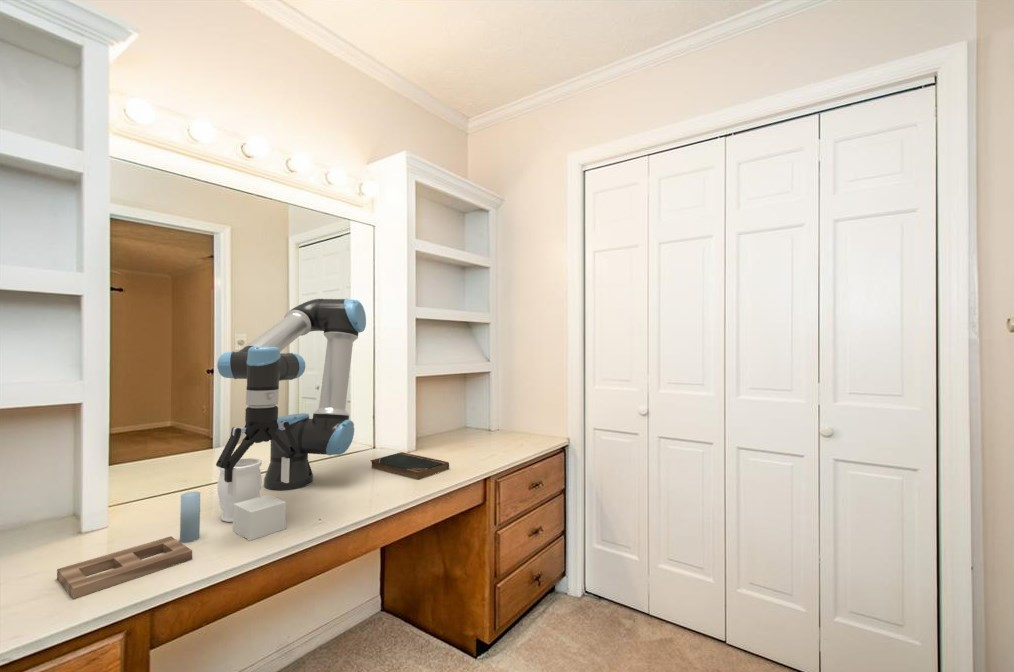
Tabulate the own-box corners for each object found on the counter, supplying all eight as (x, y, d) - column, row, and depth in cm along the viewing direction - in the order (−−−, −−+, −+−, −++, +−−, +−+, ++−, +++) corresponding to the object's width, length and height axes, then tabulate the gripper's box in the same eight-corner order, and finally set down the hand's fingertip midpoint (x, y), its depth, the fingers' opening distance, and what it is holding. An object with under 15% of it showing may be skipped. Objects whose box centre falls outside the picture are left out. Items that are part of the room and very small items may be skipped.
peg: (177, 539, 115) (178, 494, 115) (195, 534, 118) (196, 490, 118) (183, 543, 112) (184, 498, 112) (202, 538, 116) (203, 493, 115)
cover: (232, 531, 120) (233, 504, 120) (267, 520, 127) (268, 494, 127) (250, 540, 115) (250, 512, 115) (285, 528, 122) (286, 502, 122)
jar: (251, 506, 137) (252, 455, 137) (267, 516, 130) (268, 462, 130) (210, 517, 129) (212, 463, 129) (225, 527, 122) (226, 470, 122)
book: (369, 469, 179) (417, 481, 165) (369, 460, 179) (417, 471, 165) (402, 460, 193) (449, 470, 180) (402, 451, 193) (449, 461, 180)
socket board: (57, 578, 95) (57, 569, 95) (170, 544, 112) (171, 536, 112) (73, 599, 88) (73, 588, 88) (192, 559, 105) (192, 550, 105)
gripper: (216, 412, 109) (213, 503, 108) (314, 402, 129) (312, 479, 129) (202, 409, 113) (199, 497, 113) (299, 400, 133) (296, 474, 133)
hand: (259, 488), depth 121 cm, fingers open, 13 cm apart
